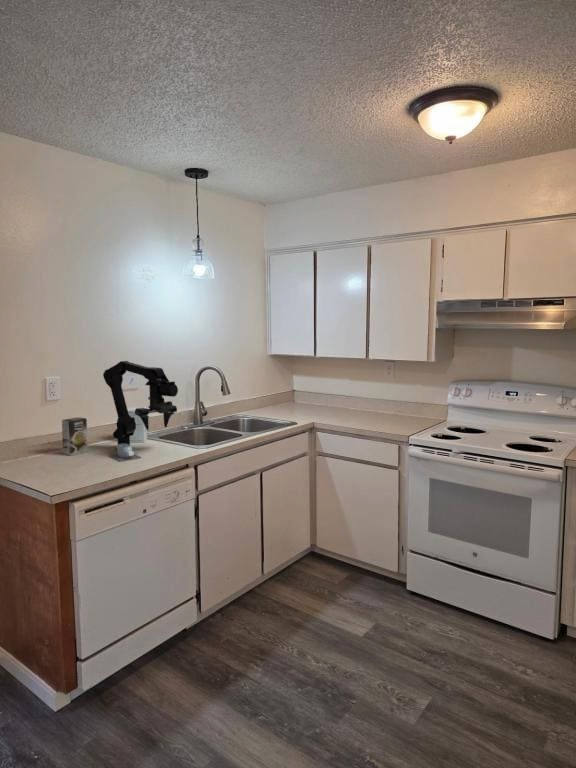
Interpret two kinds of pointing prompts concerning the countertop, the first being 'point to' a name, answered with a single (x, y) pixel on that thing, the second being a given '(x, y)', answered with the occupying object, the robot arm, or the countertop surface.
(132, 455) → the mat
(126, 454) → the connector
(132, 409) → the supplement box
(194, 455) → the countertop surface
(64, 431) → the coffee box
